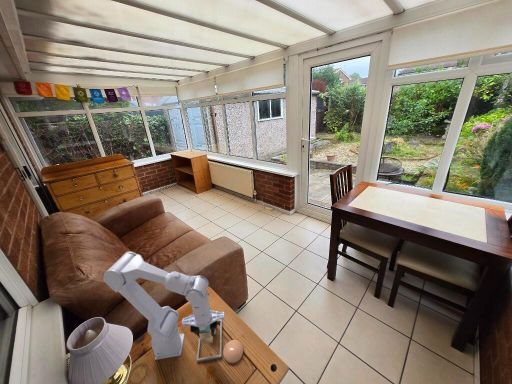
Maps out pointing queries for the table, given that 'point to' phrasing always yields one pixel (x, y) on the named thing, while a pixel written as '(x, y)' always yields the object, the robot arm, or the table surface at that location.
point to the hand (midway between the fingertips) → (206, 334)
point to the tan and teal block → (206, 335)
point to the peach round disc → (233, 351)
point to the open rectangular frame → (211, 356)
